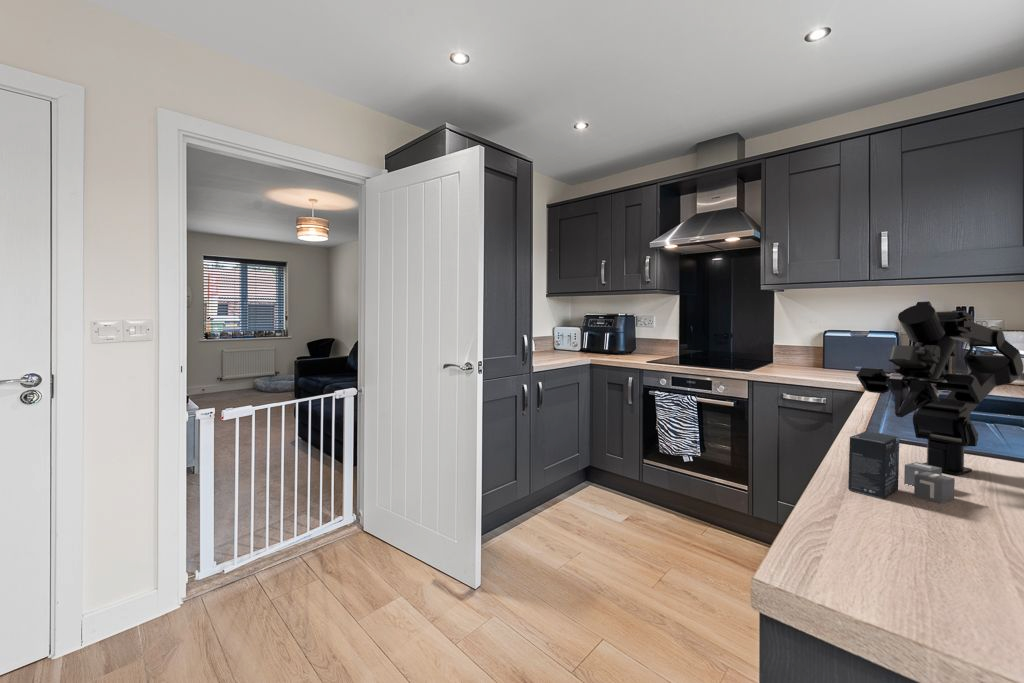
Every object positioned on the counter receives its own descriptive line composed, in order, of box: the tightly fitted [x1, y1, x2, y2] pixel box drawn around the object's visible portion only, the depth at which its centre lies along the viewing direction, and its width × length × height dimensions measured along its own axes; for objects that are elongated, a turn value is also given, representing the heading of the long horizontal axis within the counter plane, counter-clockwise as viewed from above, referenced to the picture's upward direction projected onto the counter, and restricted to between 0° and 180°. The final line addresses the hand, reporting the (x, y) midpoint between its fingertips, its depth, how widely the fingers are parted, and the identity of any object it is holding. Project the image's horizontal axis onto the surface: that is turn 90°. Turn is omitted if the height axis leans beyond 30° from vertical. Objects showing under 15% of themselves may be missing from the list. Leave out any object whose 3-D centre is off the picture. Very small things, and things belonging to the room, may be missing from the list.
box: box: [847, 430, 901, 500], centre depth 84 cm, size 8×6×11 cm
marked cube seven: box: [913, 472, 956, 504], centre depth 80 cm, size 4×4×4 cm
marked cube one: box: [903, 461, 943, 487], centre depth 86 cm, size 4×4×4 cm
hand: (898, 415), depth 87 cm, fingers closed
